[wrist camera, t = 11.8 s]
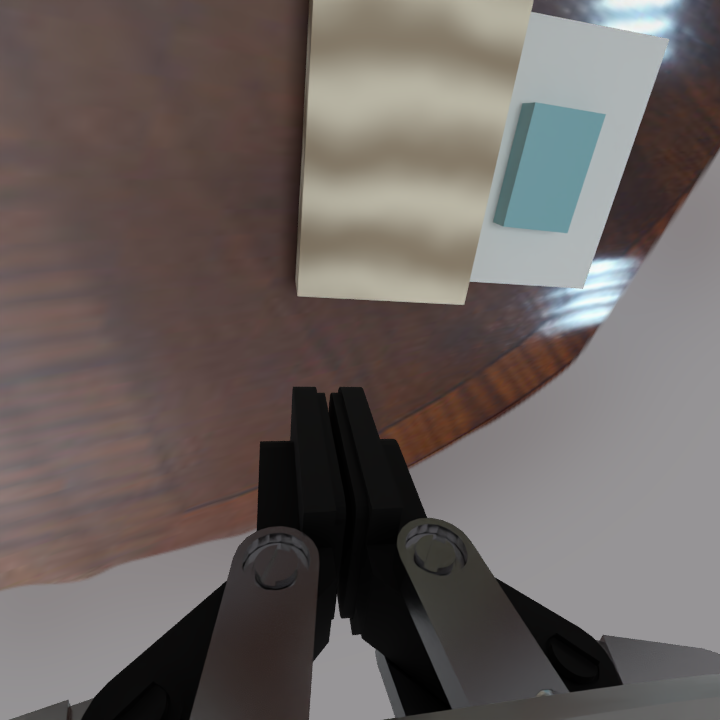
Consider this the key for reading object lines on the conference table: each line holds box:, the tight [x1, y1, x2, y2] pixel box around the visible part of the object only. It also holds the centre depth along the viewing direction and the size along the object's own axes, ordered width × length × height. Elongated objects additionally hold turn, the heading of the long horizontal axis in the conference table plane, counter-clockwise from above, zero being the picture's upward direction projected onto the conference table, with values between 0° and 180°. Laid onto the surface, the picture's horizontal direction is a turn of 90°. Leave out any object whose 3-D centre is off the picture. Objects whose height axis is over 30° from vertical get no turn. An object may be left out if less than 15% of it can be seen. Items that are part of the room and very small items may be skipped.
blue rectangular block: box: [493, 102, 606, 233], centre depth 37 cm, size 9×6×2 cm, turn 173°
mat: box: [470, 12, 669, 289], centre depth 38 cm, size 20×13×1 cm, turn 173°
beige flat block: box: [295, 0, 534, 305], centre depth 34 cm, size 22×14×4 cm, turn 173°
